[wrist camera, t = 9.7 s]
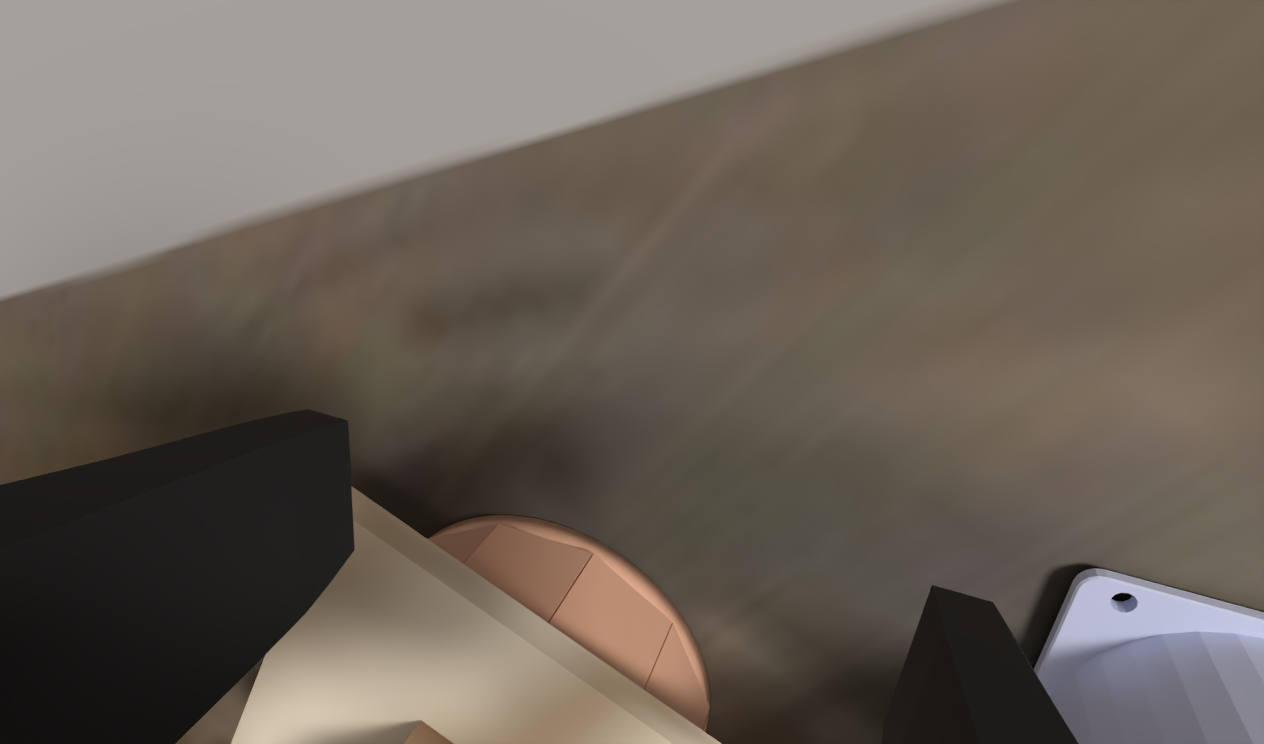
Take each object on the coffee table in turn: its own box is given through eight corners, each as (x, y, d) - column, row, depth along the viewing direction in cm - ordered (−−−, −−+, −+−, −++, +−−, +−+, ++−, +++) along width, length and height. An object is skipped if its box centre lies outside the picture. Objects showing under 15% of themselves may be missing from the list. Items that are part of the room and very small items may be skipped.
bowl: (739, 579, 21) (698, 699, 17) (683, 839, 26) (640, 981, 22) (394, 473, 24) (292, 556, 20) (398, 725, 29) (315, 833, 25)
